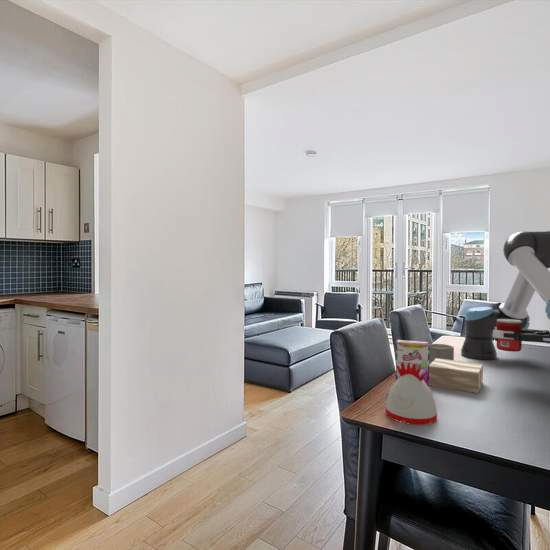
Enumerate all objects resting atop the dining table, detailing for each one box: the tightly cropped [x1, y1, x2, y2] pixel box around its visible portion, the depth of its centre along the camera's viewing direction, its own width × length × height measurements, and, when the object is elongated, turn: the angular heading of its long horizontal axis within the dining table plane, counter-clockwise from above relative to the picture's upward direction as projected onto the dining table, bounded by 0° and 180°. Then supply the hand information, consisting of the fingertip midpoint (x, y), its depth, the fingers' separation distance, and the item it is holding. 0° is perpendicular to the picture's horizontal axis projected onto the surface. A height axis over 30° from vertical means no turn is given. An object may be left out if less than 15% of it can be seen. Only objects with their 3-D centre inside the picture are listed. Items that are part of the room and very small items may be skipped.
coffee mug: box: [429, 343, 455, 365], centre depth 155 cm, size 13×10×10 cm
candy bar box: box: [394, 339, 430, 388], centre depth 131 cm, size 11×5×16 cm, turn 71°
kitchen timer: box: [385, 362, 438, 426], centre depth 107 cm, size 14×14×15 cm
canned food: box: [496, 319, 523, 353], centre depth 139 cm, size 8×8×11 cm
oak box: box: [429, 358, 484, 394], centre depth 136 cm, size 14×16×7 cm
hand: (494, 332), depth 142 cm, fingers closed on canned food, 8 cm apart
